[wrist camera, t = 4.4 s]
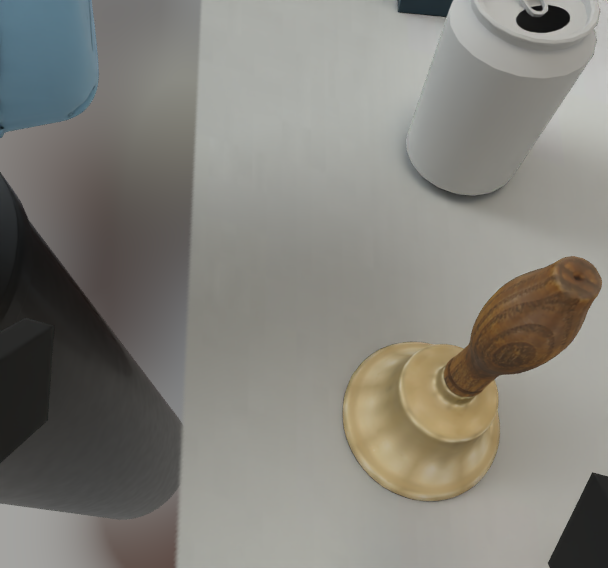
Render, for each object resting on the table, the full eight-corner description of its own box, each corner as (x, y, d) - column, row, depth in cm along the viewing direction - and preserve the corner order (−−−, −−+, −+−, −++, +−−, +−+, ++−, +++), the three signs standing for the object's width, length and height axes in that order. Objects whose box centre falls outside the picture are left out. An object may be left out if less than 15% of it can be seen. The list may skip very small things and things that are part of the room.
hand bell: (333, 347, 29) (394, 161, 15) (477, 338, 30) (667, 152, 16) (352, 508, 26) (454, 468, 11) (515, 494, 26) (807, 438, 12)
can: (436, 217, 33) (515, 64, 23) (384, 132, 36) (431, -40, 26) (533, 184, 35) (649, 26, 24) (476, 105, 38) (557, -68, 27)
